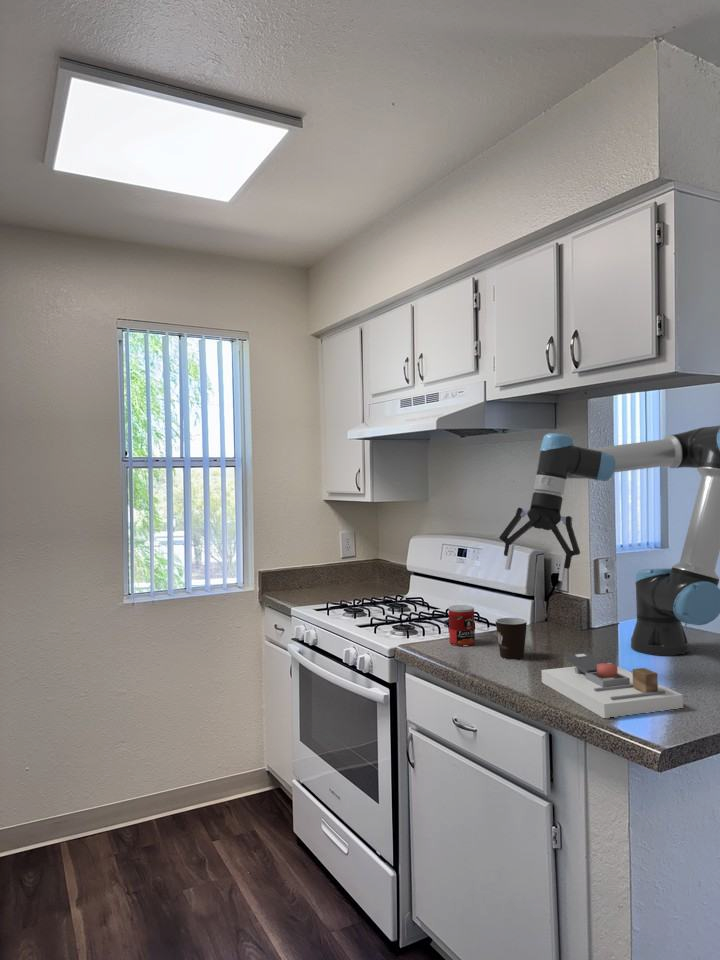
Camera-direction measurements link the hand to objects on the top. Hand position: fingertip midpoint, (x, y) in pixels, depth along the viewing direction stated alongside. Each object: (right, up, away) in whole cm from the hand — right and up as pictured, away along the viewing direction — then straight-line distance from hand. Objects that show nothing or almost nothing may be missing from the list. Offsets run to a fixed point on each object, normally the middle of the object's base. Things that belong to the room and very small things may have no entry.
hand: (533, 575), depth 173 cm
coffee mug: (-2, -25, +17) cm, 31 cm away
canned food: (-13, -25, +32) cm, 43 cm away
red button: (+12, -20, -18) cm, 30 cm away
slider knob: (+18, -21, -25) cm, 38 cm away
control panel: (+12, -25, -18) cm, 33 cm away
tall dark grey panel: (+10, -20, -11) cm, 25 cm away
